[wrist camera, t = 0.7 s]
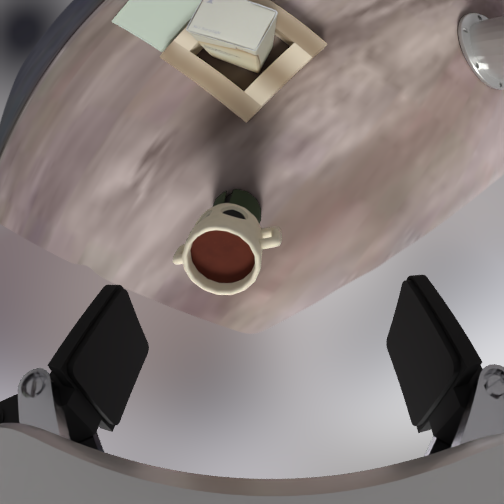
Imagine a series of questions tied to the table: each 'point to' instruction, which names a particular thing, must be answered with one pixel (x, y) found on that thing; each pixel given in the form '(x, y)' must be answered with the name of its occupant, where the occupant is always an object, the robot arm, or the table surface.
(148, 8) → the sage mat
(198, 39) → the skincare box
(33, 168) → the table surface
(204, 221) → the character mug
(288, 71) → the holder block
